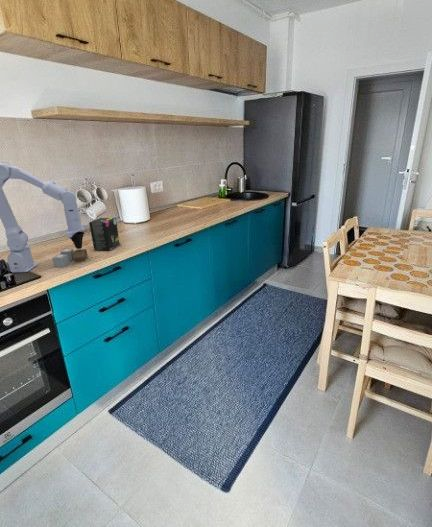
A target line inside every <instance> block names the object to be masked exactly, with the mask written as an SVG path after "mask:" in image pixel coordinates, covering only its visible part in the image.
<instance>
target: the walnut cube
mask: <svg viewBox="0 0 432 527" xmlns="http://www.w3.org/2000/svg"><path fill="white" fill-rule="evenodd" d="M73 256H74V259H73V261H74V262H75V263H80V261H83V262H86V259H87V260H88V259H89V257H88V256H89V255H88V250H87V249H86V248H85V249H84V248H81V249H75V250H74V252H73Z"/></svg>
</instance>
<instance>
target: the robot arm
mask: <svg viewBox="0 0 432 527" xmlns="http://www.w3.org/2000/svg"><path fill="white" fill-rule="evenodd" d="M9 179H11V180H21V181H25V182H26V183H28V184H31V185H33V186H35V187H37V188H39V189H41V191H42V193H43V194H44V195H46V196H49V197H51V198H53V199H55V200H57V201H61V204H63V207H64V208H63V211H64V216H65V220H66V226H67V232H65V236H66V238H69V239H70V240H71V241H72V243H73V245H74V246H75V250H78V249H83V238H84V235H85V232H84V231H85V229H86V228H85V225H84V224H82V221H81V217H80V210H79V208H78V203H77V196H76V193H74V192H73V191H72V190H70V189H68V188H67V187H65V188H64V187H62V186H61V185H59V184H57V182H56V181H54V180H53V181H51V180H48V181H44V180H42V179H40V178H39V177H37V176H35V175H34V174H31V173H30V172H28V171H26V170H25V169H22V168H20V167H18V166H15V165H13V164H10V163H8V162H4V161H2V162H0V220H1V223H2V225H3V227H4V231H5V237H6V239H7V241H6V245H7V246H8V248H9V250H10V252H9V254H7V260H6V261H7V262H8V267H9V271H11V272H12V273H27V272H29V271H31V270H33V269H34V268H36V267H37V266H39V263H37V262H34V258H33V253H32V252H31V250H32V249H31V246H30V245H29V244H28V242H29V235H27V233H25V232H24V231H23V229H22V227H21V226H20V225H19V223H18V221H17V219H16V216H15V214H14V211H13V210H12V207H11V205H10V203H9V201H8V198H7V196H6V194H5V192H4V190H3V187H4V185H5V184H6V182H8V180H9Z"/></svg>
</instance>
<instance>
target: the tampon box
mask: <svg viewBox="0 0 432 527" xmlns="http://www.w3.org/2000/svg"><path fill="white" fill-rule="evenodd" d="M88 224H89V229H90V234H91V241H92V244H93V250H94V251H102V252H103V251H104V252H105V251H107V252H109V251H110V252H111V251H112V250H114V249H115V248H117V247H118V246H120V239H119V238H120V236H119V230H118V222H117V218H116V217H99V218H96V219H94V220H91V221H89V222H88Z"/></svg>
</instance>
